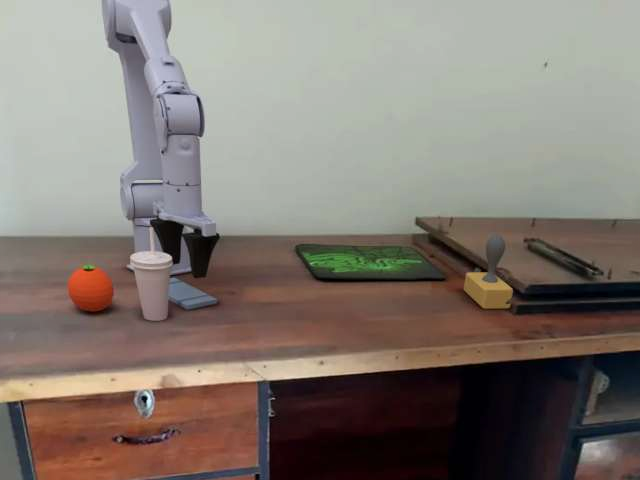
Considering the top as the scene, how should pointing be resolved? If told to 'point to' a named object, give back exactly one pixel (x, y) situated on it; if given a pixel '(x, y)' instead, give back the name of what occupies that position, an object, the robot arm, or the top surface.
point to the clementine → (90, 288)
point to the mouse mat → (367, 262)
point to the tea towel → (188, 295)
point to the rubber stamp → (489, 279)
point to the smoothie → (152, 280)
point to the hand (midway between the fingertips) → (186, 270)
